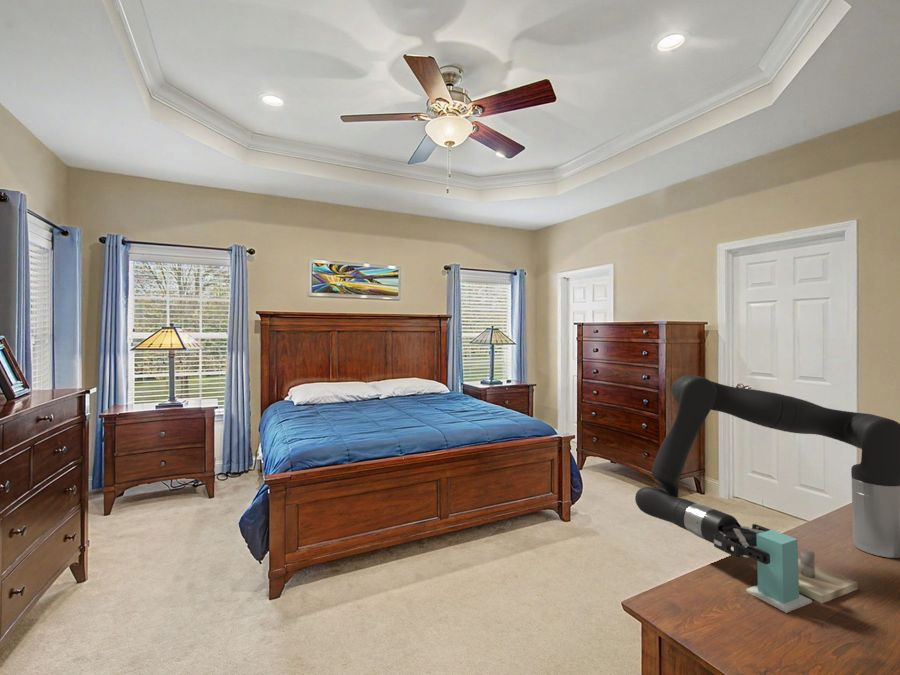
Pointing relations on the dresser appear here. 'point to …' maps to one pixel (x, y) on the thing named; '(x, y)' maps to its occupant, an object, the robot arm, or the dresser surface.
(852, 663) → the dresser surface
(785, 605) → the mat
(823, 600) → the post stand
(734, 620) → the dresser surface
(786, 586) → the tall teal pillar
